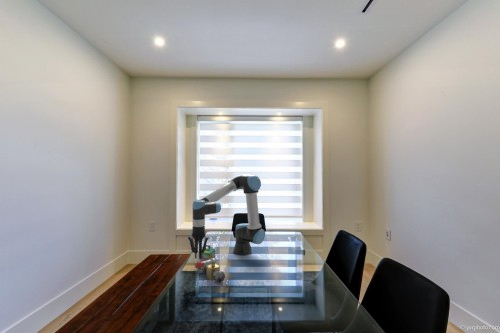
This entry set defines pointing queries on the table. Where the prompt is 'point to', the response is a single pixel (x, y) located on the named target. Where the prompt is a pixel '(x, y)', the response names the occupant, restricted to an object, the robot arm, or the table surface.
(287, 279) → the table surface
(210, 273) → the valve
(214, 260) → the lever
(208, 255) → the chalk box
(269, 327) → the table surface
